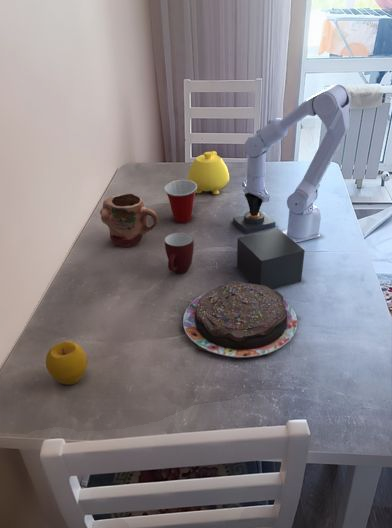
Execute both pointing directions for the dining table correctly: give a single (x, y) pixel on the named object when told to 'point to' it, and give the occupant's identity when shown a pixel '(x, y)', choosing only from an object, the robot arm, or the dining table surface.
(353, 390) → the dining table surface
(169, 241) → the mug
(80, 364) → the apple
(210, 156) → the teapot
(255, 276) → the black block
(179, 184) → the plastic cup
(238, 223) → the control block
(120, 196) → the brown clay mug
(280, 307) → the chocolate cake
